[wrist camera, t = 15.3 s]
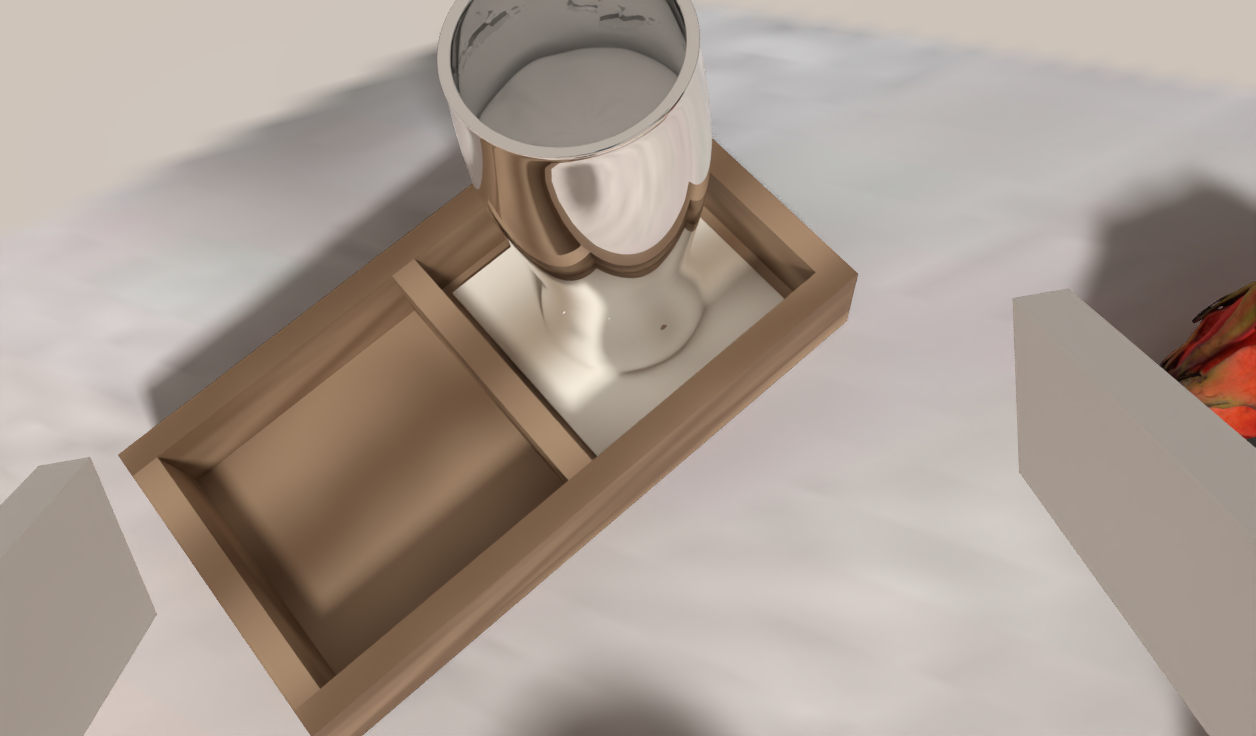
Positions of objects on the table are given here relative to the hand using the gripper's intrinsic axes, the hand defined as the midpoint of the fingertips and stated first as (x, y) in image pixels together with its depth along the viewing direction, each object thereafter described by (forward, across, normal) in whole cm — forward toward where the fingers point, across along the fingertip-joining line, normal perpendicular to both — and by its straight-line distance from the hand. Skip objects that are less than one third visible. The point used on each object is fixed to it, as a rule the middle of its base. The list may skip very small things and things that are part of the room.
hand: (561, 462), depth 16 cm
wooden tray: (+24, -5, -10) cm, 26 cm away
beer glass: (+25, 0, -7) cm, 26 cm away
